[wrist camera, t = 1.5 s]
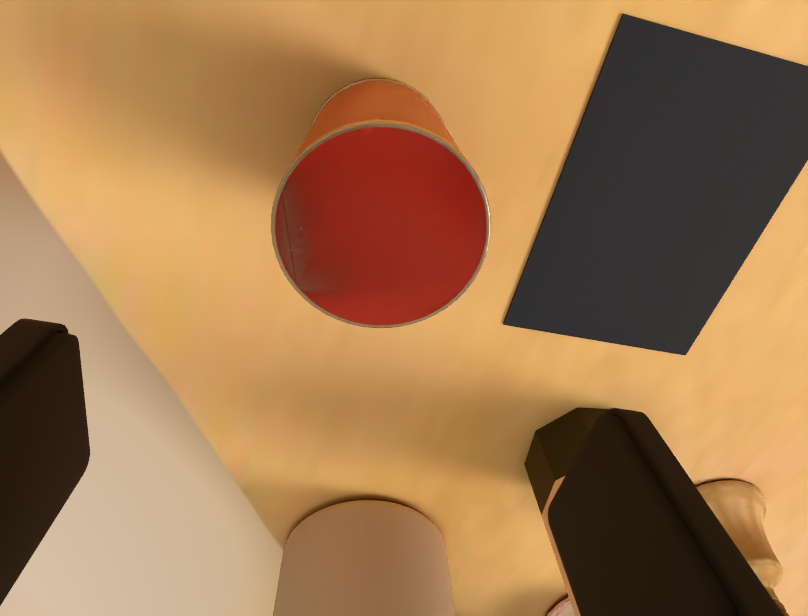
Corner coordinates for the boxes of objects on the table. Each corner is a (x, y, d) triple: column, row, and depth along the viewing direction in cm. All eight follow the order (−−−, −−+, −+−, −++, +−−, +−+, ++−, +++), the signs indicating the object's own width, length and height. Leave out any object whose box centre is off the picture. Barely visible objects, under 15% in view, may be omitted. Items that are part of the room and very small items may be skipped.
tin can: (318, 61, 22) (282, 96, 13) (465, 97, 23) (522, 151, 14) (299, 207, 25) (261, 311, 16) (429, 232, 26) (456, 342, 18)
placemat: (622, 14, 21) (623, 13, 21) (855, 80, 23) (857, 80, 23) (503, 323, 29) (503, 324, 29) (684, 354, 31) (685, 355, 31)
